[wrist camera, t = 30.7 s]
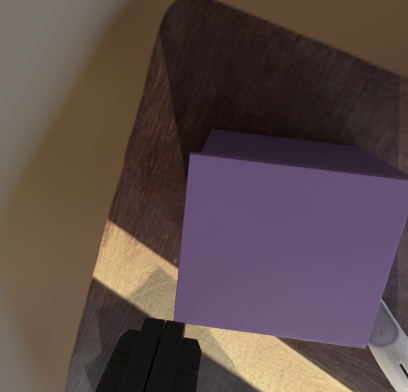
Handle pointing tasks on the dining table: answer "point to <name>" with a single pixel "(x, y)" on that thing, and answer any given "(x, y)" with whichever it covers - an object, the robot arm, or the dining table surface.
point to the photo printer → (390, 348)
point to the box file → (296, 152)
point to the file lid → (287, 248)
